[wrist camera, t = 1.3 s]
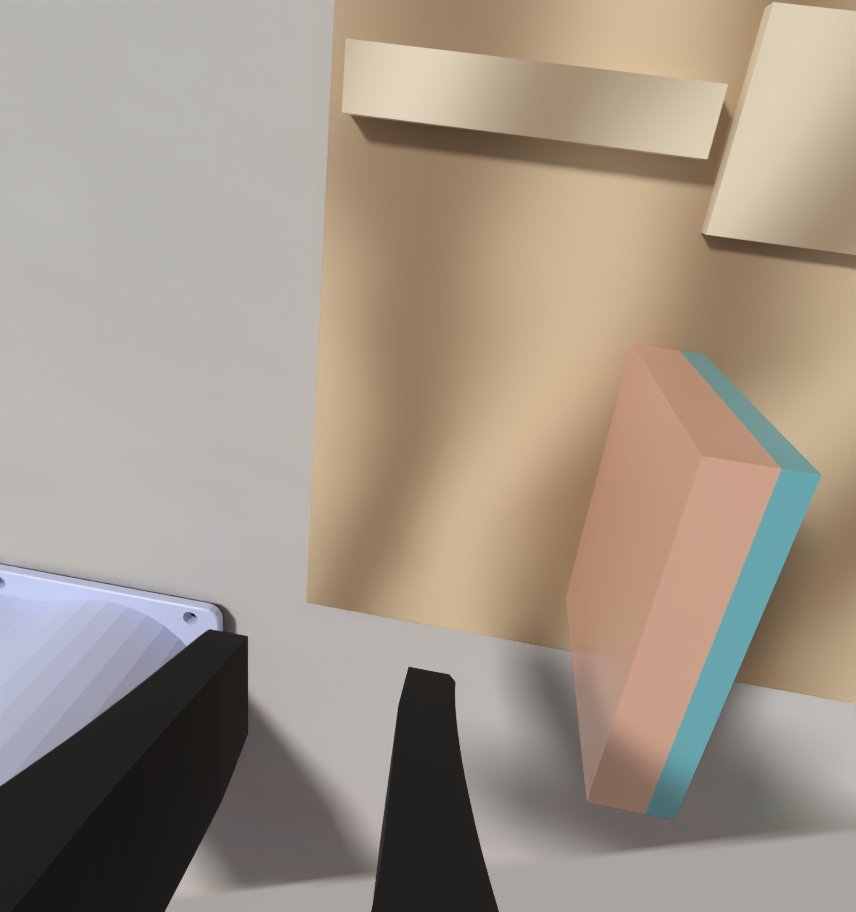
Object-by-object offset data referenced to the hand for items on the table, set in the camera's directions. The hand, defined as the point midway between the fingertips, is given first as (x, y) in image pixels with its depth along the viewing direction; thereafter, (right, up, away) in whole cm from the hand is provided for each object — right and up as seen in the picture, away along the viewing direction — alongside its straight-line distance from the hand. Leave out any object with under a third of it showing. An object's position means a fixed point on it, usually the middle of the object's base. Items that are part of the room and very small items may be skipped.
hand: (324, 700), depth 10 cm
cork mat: (+8, +6, +7) cm, 12 cm away
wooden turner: (+7, +11, +4) cm, 14 cm away
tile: (+7, +3, +8) cm, 11 cm away
